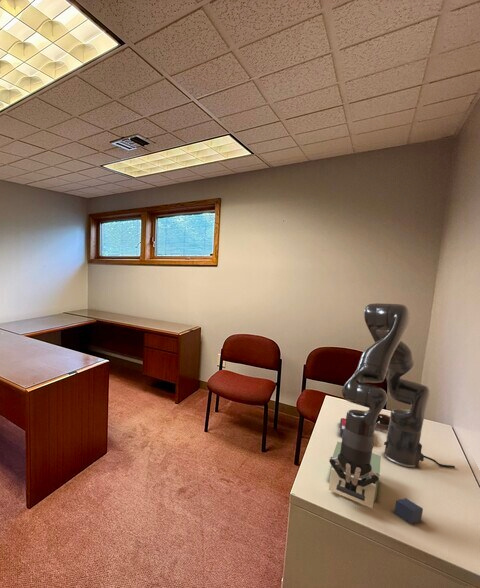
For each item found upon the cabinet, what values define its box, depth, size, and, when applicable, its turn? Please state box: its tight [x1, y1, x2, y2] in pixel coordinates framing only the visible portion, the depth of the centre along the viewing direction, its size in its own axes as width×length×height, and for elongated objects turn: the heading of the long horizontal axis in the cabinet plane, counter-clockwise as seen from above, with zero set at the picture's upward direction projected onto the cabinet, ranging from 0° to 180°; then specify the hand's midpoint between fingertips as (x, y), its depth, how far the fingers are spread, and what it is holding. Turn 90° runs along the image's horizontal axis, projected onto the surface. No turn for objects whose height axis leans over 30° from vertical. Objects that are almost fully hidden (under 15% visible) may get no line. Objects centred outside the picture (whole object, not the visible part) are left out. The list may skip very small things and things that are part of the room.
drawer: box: [328, 462, 376, 509], centre depth 108 cm, size 19×11×8 cm, turn 136°
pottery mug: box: [374, 413, 390, 431], centre depth 154 cm, size 12×10×8 cm
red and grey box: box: [339, 417, 346, 438], centre depth 147 cm, size 11×4×15 cm
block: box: [393, 497, 424, 525], centre depth 100 cm, size 4×4×4 cm
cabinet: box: [328, 440, 382, 502], centre depth 115 cm, size 15×13×10 cm
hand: (349, 492), depth 104 cm, fingers closed
